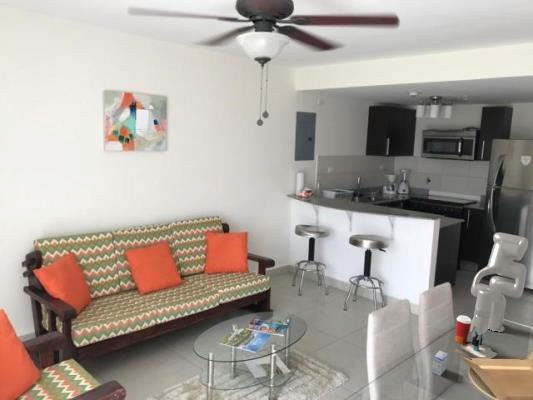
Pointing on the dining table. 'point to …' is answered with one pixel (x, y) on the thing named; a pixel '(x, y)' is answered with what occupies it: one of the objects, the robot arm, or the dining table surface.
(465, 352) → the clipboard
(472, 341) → the robot arm
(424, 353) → the dining table surface
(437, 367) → the medicine box
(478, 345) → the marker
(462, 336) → the paper cup
